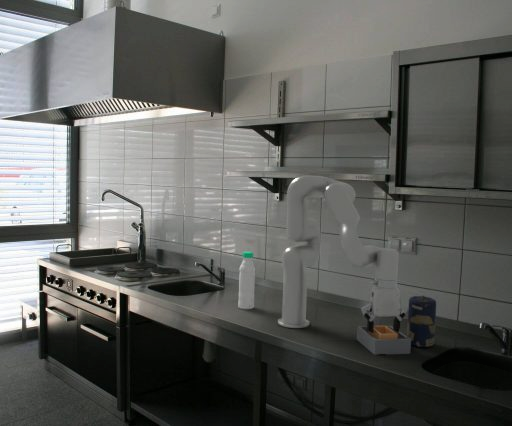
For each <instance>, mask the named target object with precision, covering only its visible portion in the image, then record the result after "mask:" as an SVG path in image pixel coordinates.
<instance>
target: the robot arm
mask: <svg viewBox="0 0 512 426" xmlns="http://www.w3.org/2000/svg"><path fill="white" fill-rule="evenodd" d="M286 193H287V194H286V200H287V202H286V203H287V204H286V205H287V206H286V207H287V210H286V211H287V212H286V237H287V239H288V240H289V241H290V242H293V243H299V244H296V245H292V246H288V247H286V249H285V250H284V251H283V253H282V255H281V263H282V264H281V265H282V272H283V275H282V277H283V279H282V280H283V281H282V283H283V284H282V285H283V286H282V303H281V304H282V305H281V307H282V308H281V310H282V311H281V318H278V319H277V323H278V325H279V326H282V327H284V328H289V329H301V328H302V329H303V328H307V327H309V326H310V321H309V320H308V319H306V318H307V317H306V315H307V298H308V297H307V295H308V276H307V272H306V269H307V268H311V267H314V266H316V265H317V263H318V262H319V260H320V254H321V236H322V235H321V227H320V224H319V221H317V220H316V219H314V218H312V217H310V209H309V203H308V198H323V199H324V201H325V202H326V205H327V207H328V208H329V211H330V212H331V215H332V216H333V219H334V220H335V222H336V224H337V226H338V231H339V232H338V234H339V236H338V237H339V241H340V246H341V248H342V250H343V253H344V254H345V257H346V258H347V260H348V262H349V263H350V264H351V265H352V266H353V267H355V268H357V269H363V268H368V267H369V268H370V267H375V277H374V279H372V280H371V285H374V286H373V287H372V290H371V294H370V298H369V299H370V300H369V303H368V304H366V305H364V306H362V307H361V308H360V311H361V313H362V315H363V317H364V318H365V319H366V320H367V321H366V322H367V324H366V326H367V329H368V331H370V332H371V333H373V329H374V326H375V325H374V324H375V322H374V321H373V320H375V318H376V317H377V318H392V317H393V325H392V327H393V330H395V331H396V332H400V328H401V321H402V320H403V318H404V317H405V316H406V314H407V313H408V308H409V307H406V306H405V305H403V304H402V301H401V292H400V288H399V287H398V273H399V255H400V253H399V251H398V250H397V249H395V248H389V247H381V246H376V245H373V244H367V245H363V244H362V242H361V240H360V238H359V235H358V231H357V226H358V224H359V222H360V220H361V217H360V214H359V212H358V210H357V209H356V206H355V205H354V201H355V200H356V196H357V195H356V191H355V189H354V188H353V186H352V185H351V184H349V183H346V182H344V181H339V180H336V179H333V178H330V177H327V176H322V175H313V174H312V175H309V174H308V175H301V176H299V177H296V178H294V179H293V180H292V181H291V182H290V184H289V185H288V187H287V192H286ZM367 311H369V313H368V312H367Z"/></svg>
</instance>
